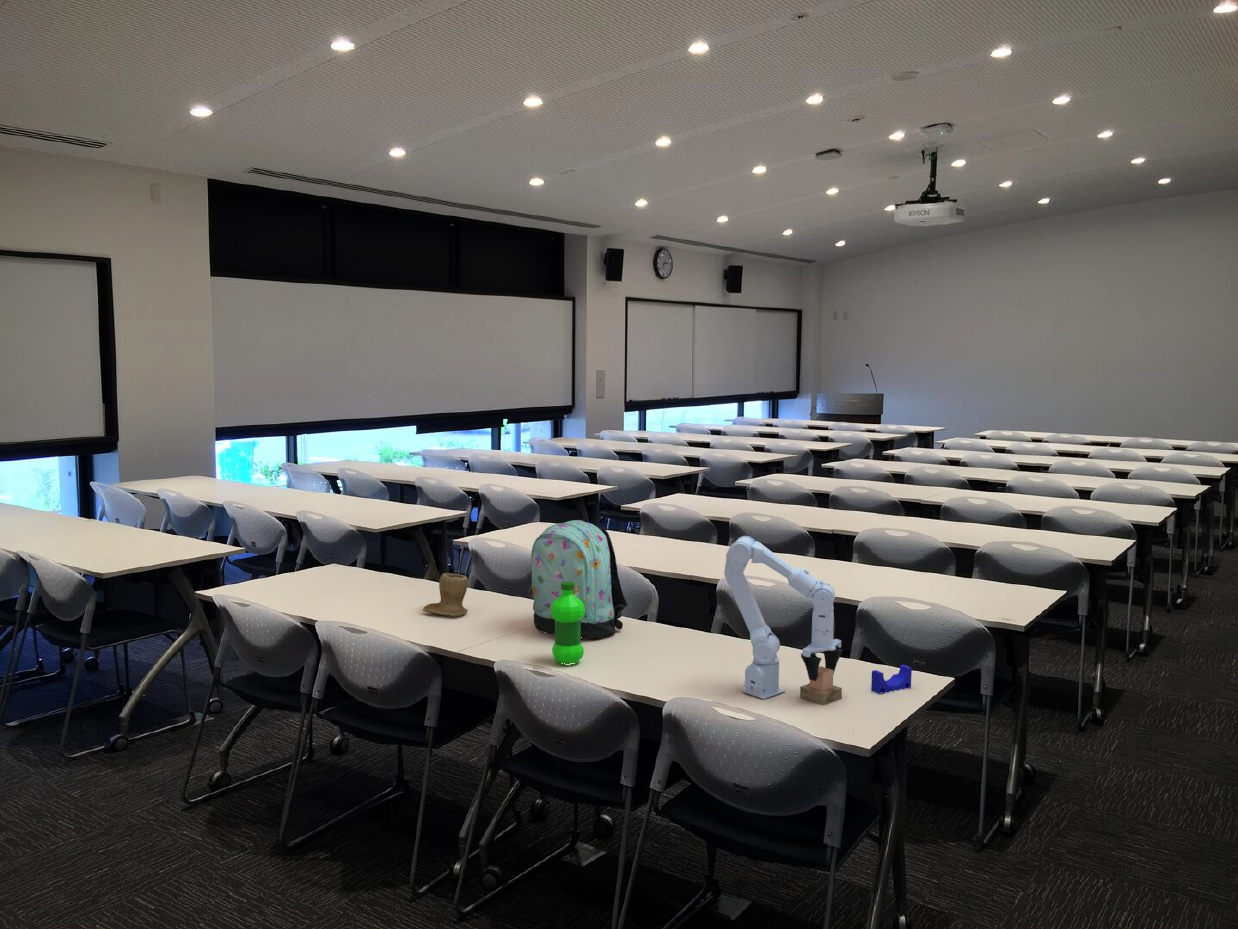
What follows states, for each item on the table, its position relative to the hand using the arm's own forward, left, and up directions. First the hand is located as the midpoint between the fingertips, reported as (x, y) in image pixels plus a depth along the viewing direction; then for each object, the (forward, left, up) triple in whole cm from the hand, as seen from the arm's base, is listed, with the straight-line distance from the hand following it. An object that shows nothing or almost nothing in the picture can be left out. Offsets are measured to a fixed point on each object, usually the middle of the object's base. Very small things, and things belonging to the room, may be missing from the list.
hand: (821, 677), depth 261 cm
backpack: (-14, +93, -6) cm, 94 cm away
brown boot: (-34, +142, -6) cm, 146 cm away
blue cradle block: (+21, -8, -6) cm, 24 cm away
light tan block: (0, 0, -3) cm, 3 cm away
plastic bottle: (-35, +69, -6) cm, 78 cm away
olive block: (0, 0, -6) cm, 6 cm away
